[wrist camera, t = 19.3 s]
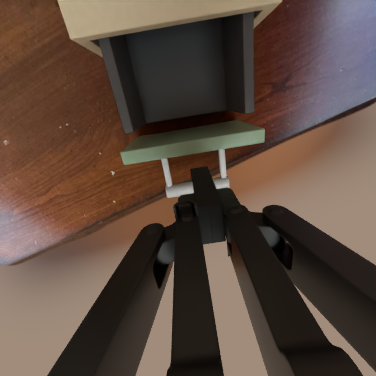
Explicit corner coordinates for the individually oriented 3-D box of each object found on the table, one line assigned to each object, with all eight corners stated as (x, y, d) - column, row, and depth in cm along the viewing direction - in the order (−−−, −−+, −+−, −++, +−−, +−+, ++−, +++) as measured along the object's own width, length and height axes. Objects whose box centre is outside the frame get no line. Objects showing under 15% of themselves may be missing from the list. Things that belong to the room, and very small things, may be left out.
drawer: (240, 169, 26) (263, 195, 19) (149, 184, 26) (139, 215, 19) (232, -31, 18) (269, -120, 11) (100, -7, 18) (48, -78, 11)
